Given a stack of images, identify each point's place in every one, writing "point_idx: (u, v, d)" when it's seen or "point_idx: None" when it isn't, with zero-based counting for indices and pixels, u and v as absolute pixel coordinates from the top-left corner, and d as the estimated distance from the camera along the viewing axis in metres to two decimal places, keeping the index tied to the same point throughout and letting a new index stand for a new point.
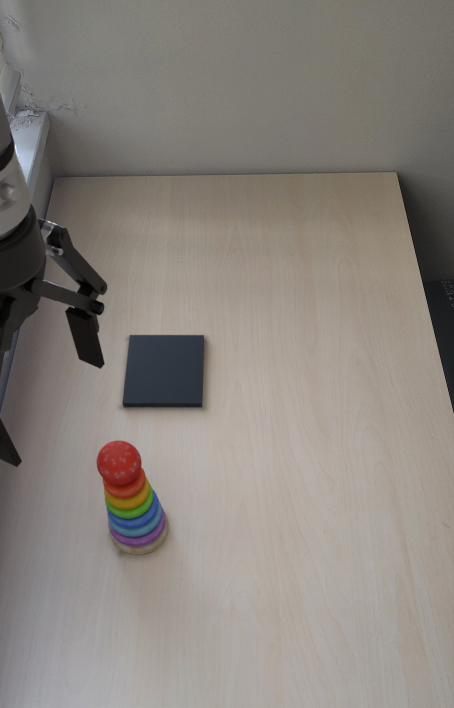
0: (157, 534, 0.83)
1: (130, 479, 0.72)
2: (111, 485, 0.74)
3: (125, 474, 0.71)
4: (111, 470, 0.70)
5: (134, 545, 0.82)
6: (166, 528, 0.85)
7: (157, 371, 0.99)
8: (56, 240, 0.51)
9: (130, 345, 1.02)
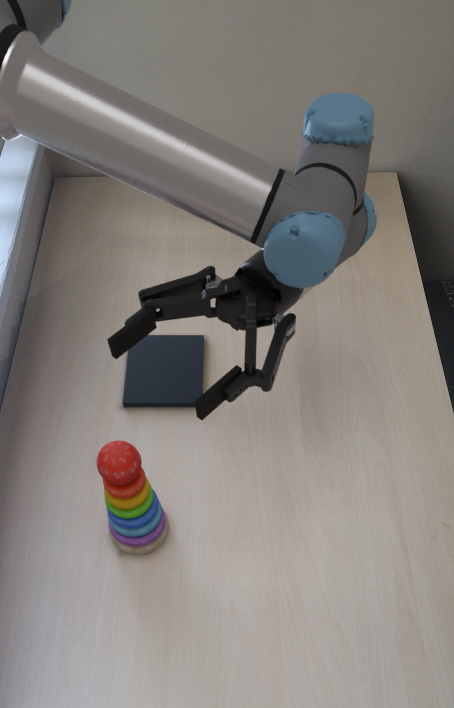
0: (157, 534, 0.83)
1: (130, 479, 0.72)
2: (111, 485, 0.74)
3: (125, 474, 0.71)
4: (111, 470, 0.70)
5: (134, 545, 0.82)
6: (166, 528, 0.85)
7: (157, 371, 0.99)
8: None
9: None
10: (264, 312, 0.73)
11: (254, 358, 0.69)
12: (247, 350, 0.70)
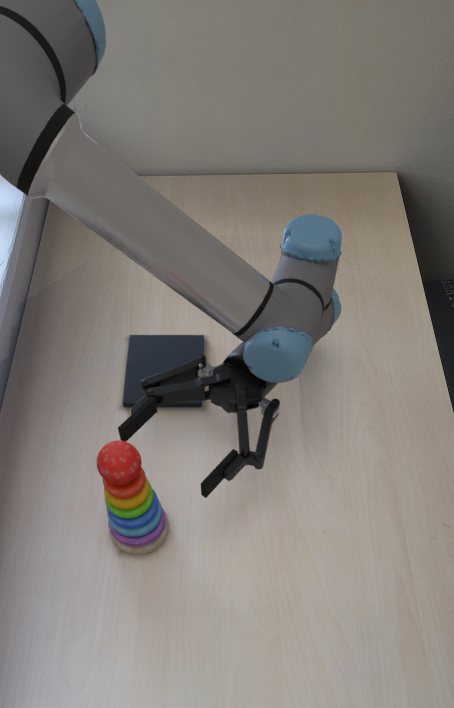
0: (157, 534, 0.83)
1: (130, 479, 0.72)
2: (111, 485, 0.74)
3: (125, 474, 0.71)
4: (111, 470, 0.70)
5: (134, 545, 0.82)
6: (166, 528, 0.85)
7: (157, 371, 0.99)
8: None
9: (130, 345, 1.02)
10: (252, 398, 0.84)
11: (248, 442, 0.80)
12: (241, 434, 0.81)
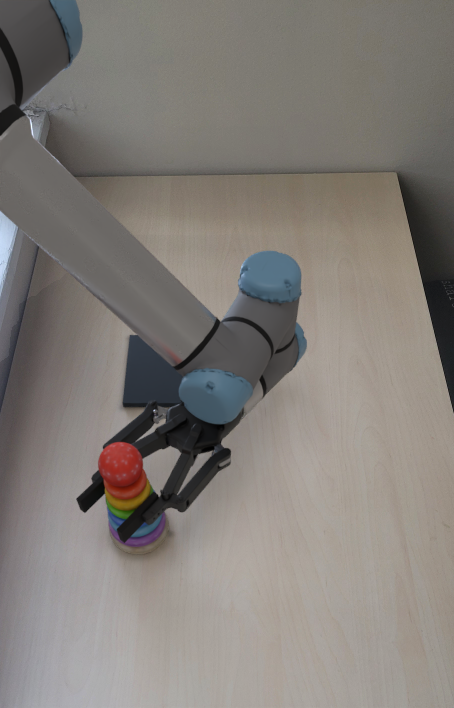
0: (157, 534, 0.83)
1: (132, 481, 0.72)
2: (113, 486, 0.74)
3: (126, 476, 0.71)
4: (113, 472, 0.70)
5: (134, 545, 0.82)
6: (166, 528, 0.85)
7: (157, 371, 0.99)
8: None
9: (130, 345, 1.02)
10: (209, 441, 0.80)
11: (173, 486, 0.77)
12: (171, 476, 0.78)
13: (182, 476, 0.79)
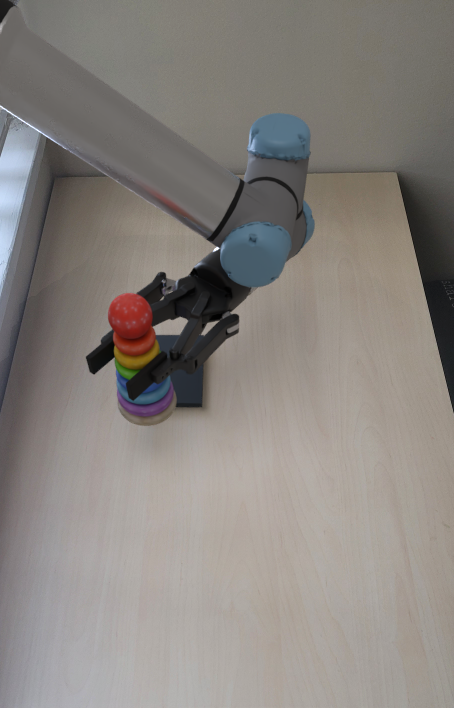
0: (166, 404, 0.83)
1: (141, 331, 0.72)
2: (122, 340, 0.74)
3: (136, 324, 0.71)
4: (123, 319, 0.71)
5: (143, 414, 0.83)
6: (174, 401, 0.86)
7: None
8: None
9: None
10: (217, 308, 0.81)
11: (182, 346, 0.78)
12: (180, 338, 0.78)
13: (190, 340, 0.79)
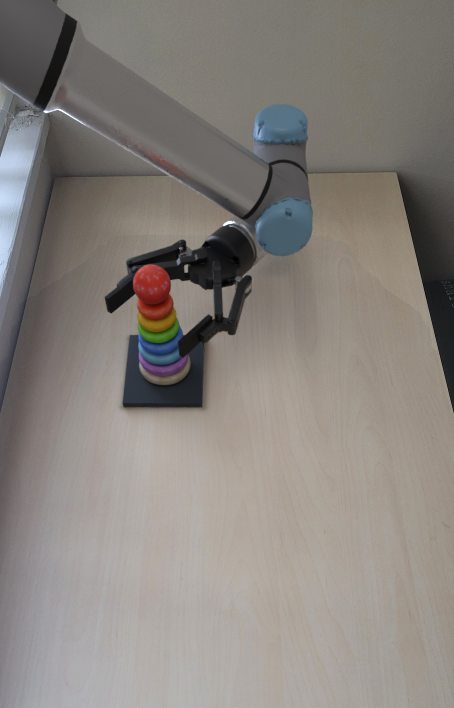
0: (181, 365, 0.96)
1: (162, 297, 0.85)
2: (145, 306, 0.87)
3: (157, 291, 0.84)
4: (146, 286, 0.83)
5: (162, 373, 0.95)
6: (188, 364, 0.98)
7: None
8: None
9: (130, 345, 1.02)
10: (227, 274, 0.93)
11: (221, 309, 0.89)
12: (215, 303, 0.90)
13: None
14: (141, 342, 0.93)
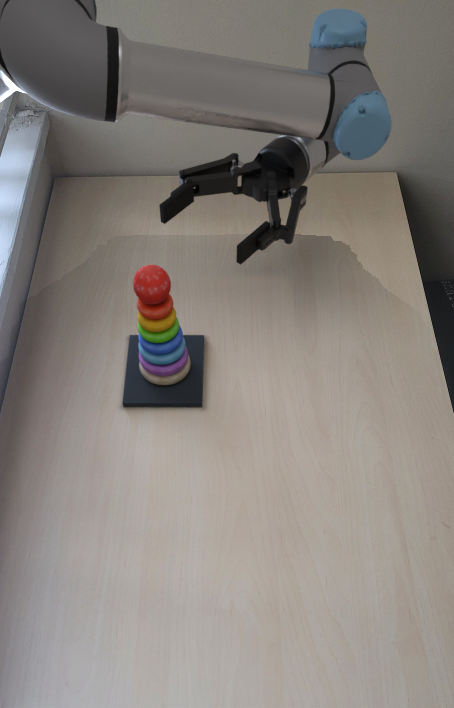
0: (181, 365, 0.96)
1: (161, 297, 0.85)
2: (145, 306, 0.87)
3: (157, 290, 0.84)
4: (146, 286, 0.83)
5: (162, 373, 0.95)
6: (188, 364, 0.98)
7: None
8: None
9: (130, 345, 1.02)
10: (282, 185, 0.91)
11: (279, 216, 0.88)
12: (272, 211, 0.88)
13: None
14: (141, 342, 0.93)
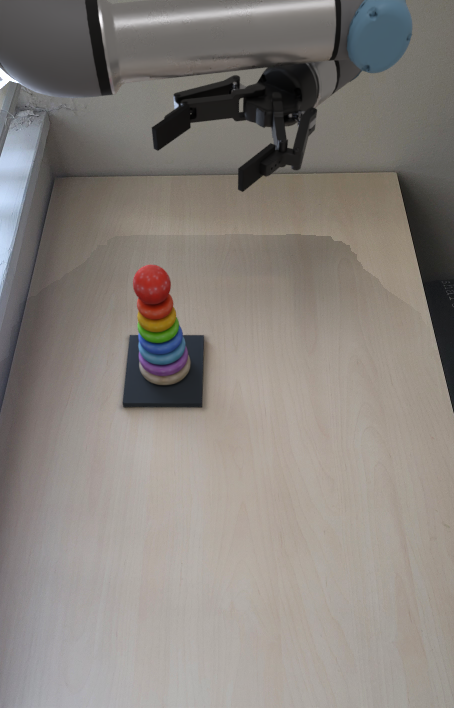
0: (181, 365, 0.96)
1: (161, 297, 0.85)
2: (145, 306, 0.87)
3: (157, 290, 0.84)
4: (146, 286, 0.83)
5: (162, 373, 0.95)
6: (188, 364, 0.98)
7: None
8: None
9: (130, 345, 1.02)
10: (288, 107, 0.82)
11: (285, 139, 0.78)
12: (278, 133, 0.79)
13: None
14: (141, 342, 0.93)
